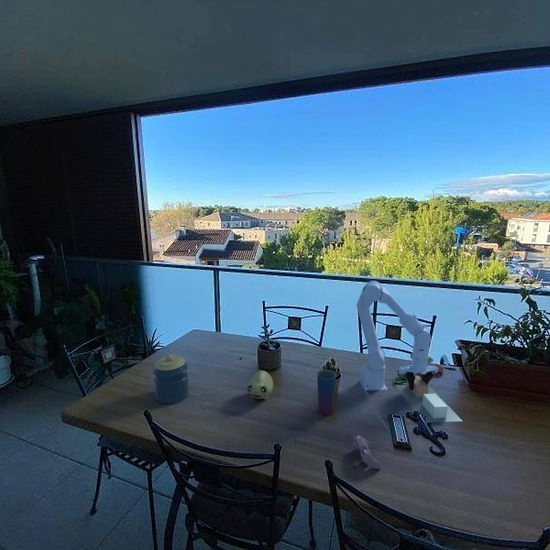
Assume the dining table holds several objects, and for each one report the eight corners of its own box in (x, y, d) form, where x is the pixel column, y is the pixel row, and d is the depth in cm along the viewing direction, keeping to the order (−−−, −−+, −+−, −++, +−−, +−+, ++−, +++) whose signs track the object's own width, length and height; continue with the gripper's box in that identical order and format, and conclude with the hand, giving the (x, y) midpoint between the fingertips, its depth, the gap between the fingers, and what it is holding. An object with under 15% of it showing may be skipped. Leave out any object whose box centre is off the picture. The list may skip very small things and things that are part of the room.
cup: (336, 407, 121) (337, 371, 118) (333, 419, 115) (334, 380, 112) (318, 404, 123) (319, 368, 120) (314, 415, 117) (315, 377, 114)
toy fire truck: (443, 376, 142) (445, 356, 140) (411, 375, 144) (412, 355, 142) (440, 373, 146) (442, 353, 144) (408, 371, 147) (410, 352, 145)
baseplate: (423, 424, 112) (423, 422, 111) (394, 386, 135) (394, 385, 135) (462, 422, 112) (462, 421, 112) (427, 385, 136) (427, 384, 136)
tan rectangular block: (416, 397, 126) (417, 386, 125) (406, 386, 134) (407, 376, 133) (427, 396, 126) (428, 386, 126) (417, 385, 134) (418, 375, 133)
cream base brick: (433, 418, 114) (434, 406, 113) (422, 404, 121) (423, 393, 120) (446, 417, 114) (447, 406, 113) (434, 404, 122) (435, 393, 121)
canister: (153, 407, 122) (149, 364, 119) (157, 388, 135) (154, 349, 131) (188, 402, 125) (185, 360, 121) (190, 385, 137) (187, 346, 134)
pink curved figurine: (357, 450, 102) (348, 433, 100) (370, 444, 102) (361, 427, 100) (369, 476, 92) (359, 458, 91) (383, 469, 92) (374, 450, 91)
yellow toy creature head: (243, 405, 123) (242, 379, 121) (252, 388, 134) (251, 364, 132) (268, 408, 121) (268, 382, 119) (275, 391, 132) (275, 367, 130)
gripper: (406, 362, 123) (403, 395, 126) (443, 361, 124) (440, 393, 126) (398, 354, 130) (396, 385, 133) (433, 353, 131) (430, 384, 133)
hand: (417, 388), depth 130 cm, fingers closed on tan rectangular block, 4 cm apart
